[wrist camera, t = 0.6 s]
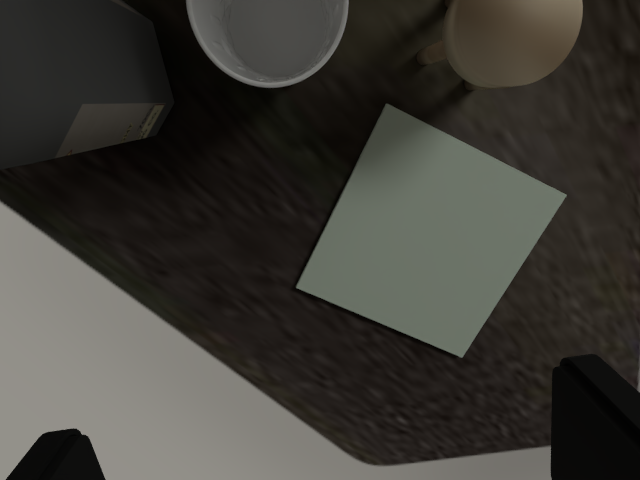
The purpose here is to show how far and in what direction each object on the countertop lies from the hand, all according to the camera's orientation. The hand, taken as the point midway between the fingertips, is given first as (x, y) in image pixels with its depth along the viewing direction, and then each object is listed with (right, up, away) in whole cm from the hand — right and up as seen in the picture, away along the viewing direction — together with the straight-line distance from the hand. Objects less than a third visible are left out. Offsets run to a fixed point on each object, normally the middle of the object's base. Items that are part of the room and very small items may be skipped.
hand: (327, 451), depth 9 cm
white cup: (-3, +19, +22) cm, 29 cm away
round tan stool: (+10, +18, +22) cm, 31 cm away
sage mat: (+9, +4, +27) cm, 29 cm away
